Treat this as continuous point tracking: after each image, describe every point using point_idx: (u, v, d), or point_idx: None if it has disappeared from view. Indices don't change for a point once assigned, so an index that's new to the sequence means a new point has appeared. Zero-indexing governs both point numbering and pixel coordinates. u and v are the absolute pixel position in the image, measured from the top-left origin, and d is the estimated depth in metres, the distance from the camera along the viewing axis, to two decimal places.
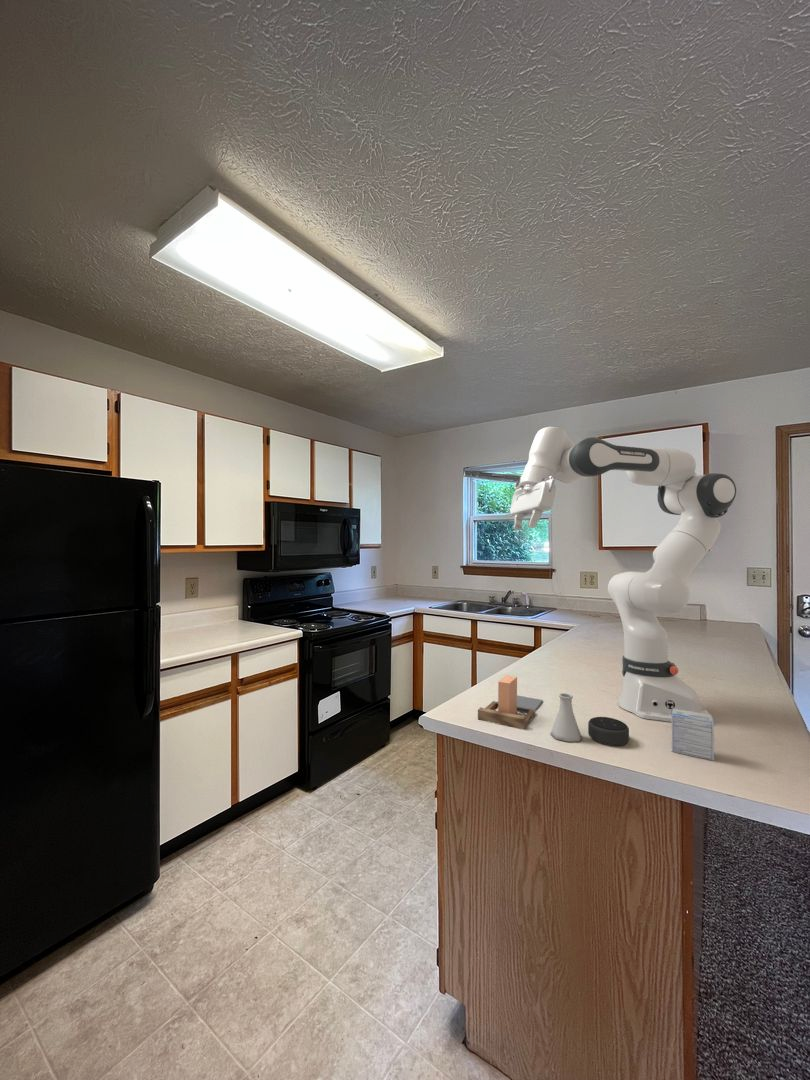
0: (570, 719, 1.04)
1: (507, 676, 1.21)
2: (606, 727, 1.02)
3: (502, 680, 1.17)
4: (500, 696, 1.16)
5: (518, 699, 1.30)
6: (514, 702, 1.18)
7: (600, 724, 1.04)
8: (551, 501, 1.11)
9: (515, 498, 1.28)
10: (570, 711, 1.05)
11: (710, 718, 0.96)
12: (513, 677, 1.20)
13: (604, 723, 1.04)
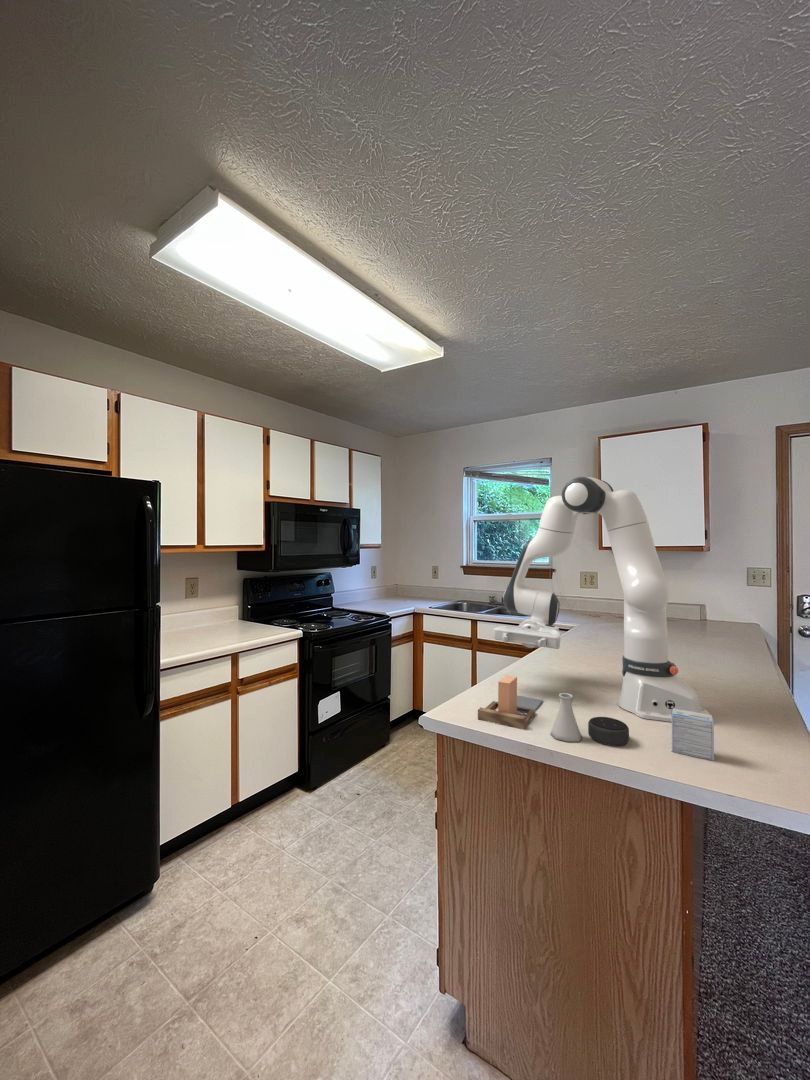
0: (570, 719, 1.04)
1: (507, 676, 1.21)
2: (605, 727, 1.02)
3: (502, 680, 1.17)
4: (500, 696, 1.16)
5: (518, 699, 1.30)
6: (514, 702, 1.18)
7: (600, 724, 1.04)
8: None
9: None
10: (570, 711, 1.05)
11: (710, 718, 0.96)
12: (513, 677, 1.20)
13: (604, 723, 1.04)
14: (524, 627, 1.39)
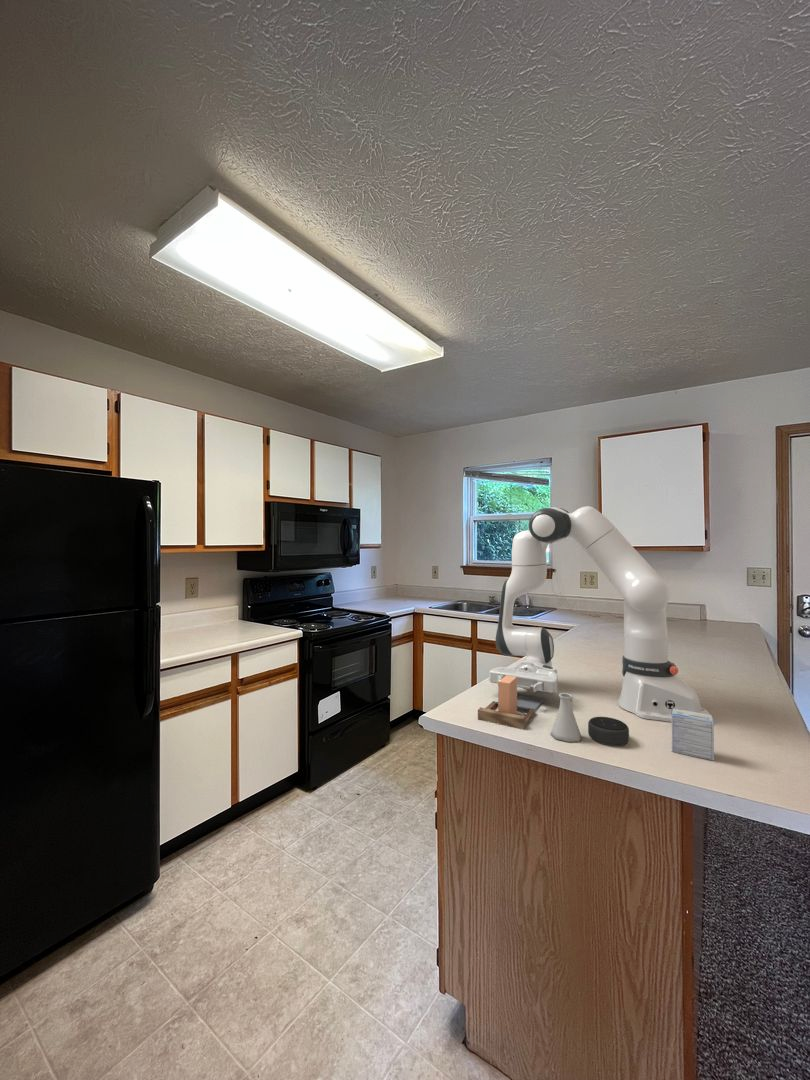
0: (570, 719, 1.04)
1: (507, 676, 1.21)
2: (605, 727, 1.02)
3: (502, 680, 1.17)
4: (500, 696, 1.16)
5: (518, 699, 1.30)
6: (514, 702, 1.18)
7: (599, 724, 1.04)
8: None
9: None
10: (570, 711, 1.05)
11: (710, 718, 0.96)
12: (513, 677, 1.20)
13: (604, 723, 1.04)
14: (521, 669, 1.35)
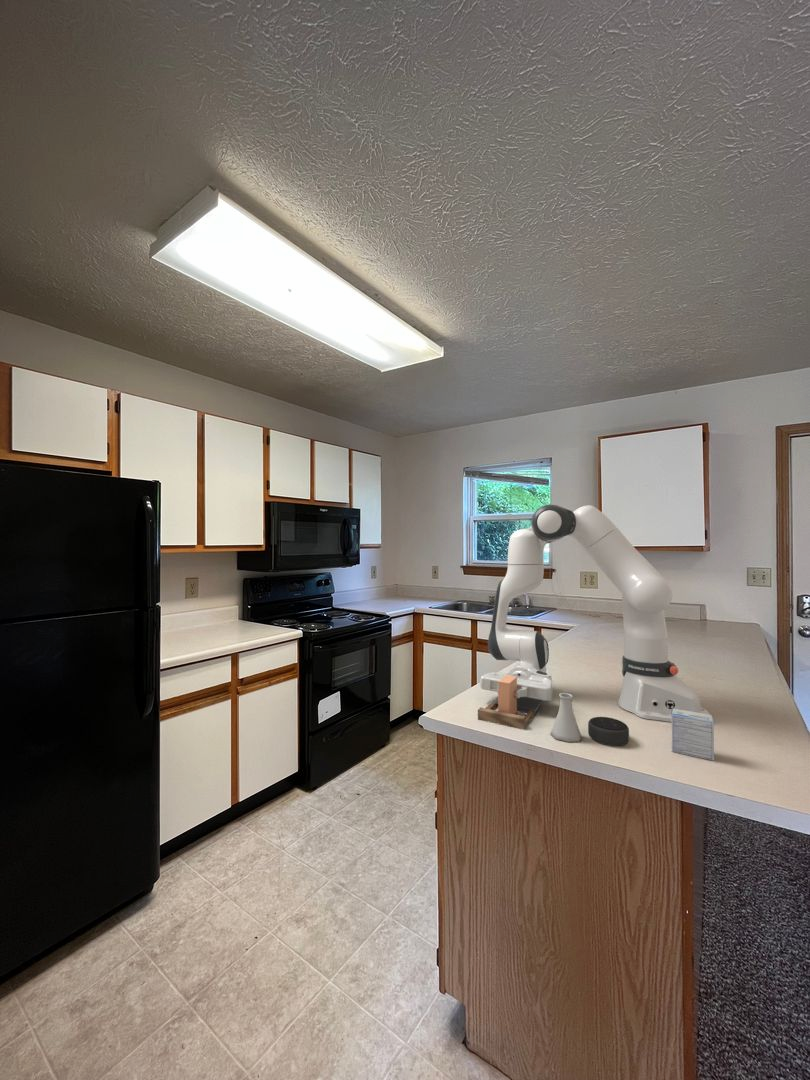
0: (570, 719, 1.04)
1: (507, 676, 1.21)
2: (605, 727, 1.02)
3: (502, 680, 1.17)
4: (500, 696, 1.16)
5: (518, 699, 1.30)
6: (514, 702, 1.18)
7: (599, 724, 1.04)
8: None
9: None
10: (570, 711, 1.05)
11: (710, 718, 0.96)
12: (513, 677, 1.20)
13: (604, 723, 1.04)
14: (514, 674, 1.28)
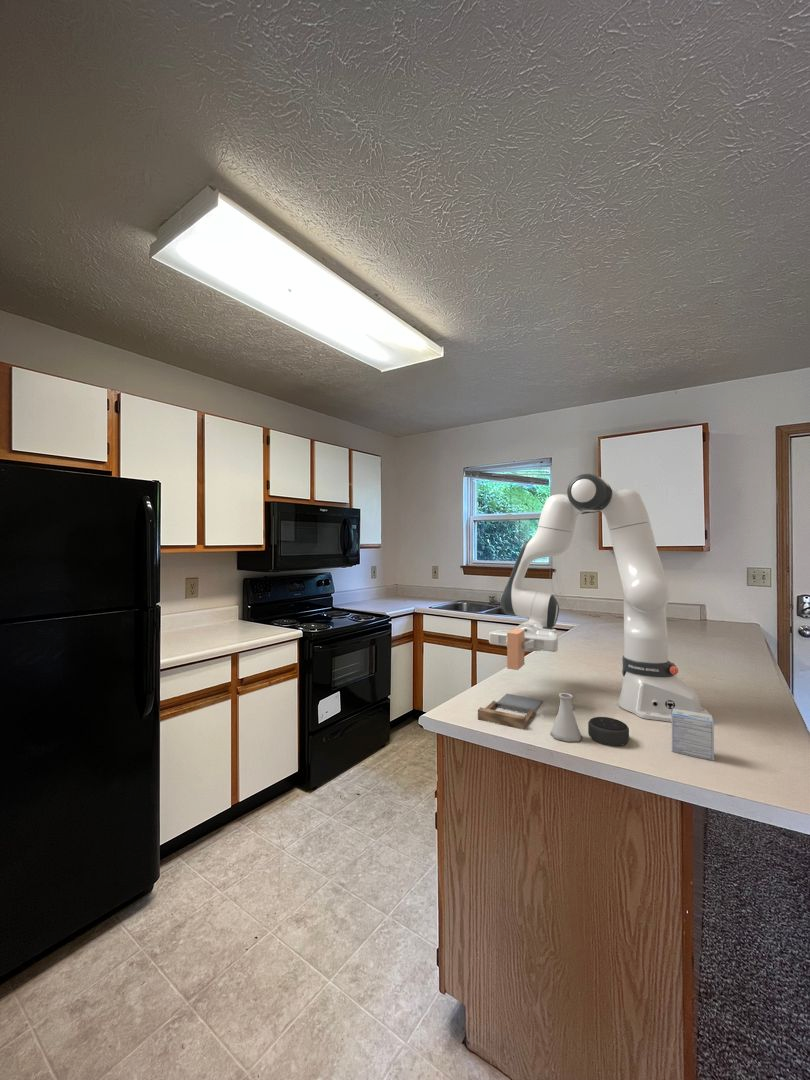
0: (570, 719, 1.04)
1: (515, 629, 1.27)
2: (605, 727, 1.02)
3: (511, 632, 1.23)
4: (509, 646, 1.22)
5: (518, 699, 1.30)
6: (522, 653, 1.24)
7: (599, 724, 1.04)
8: None
9: None
10: (570, 711, 1.05)
11: (710, 718, 0.96)
12: (521, 630, 1.26)
13: (604, 723, 1.04)
14: None
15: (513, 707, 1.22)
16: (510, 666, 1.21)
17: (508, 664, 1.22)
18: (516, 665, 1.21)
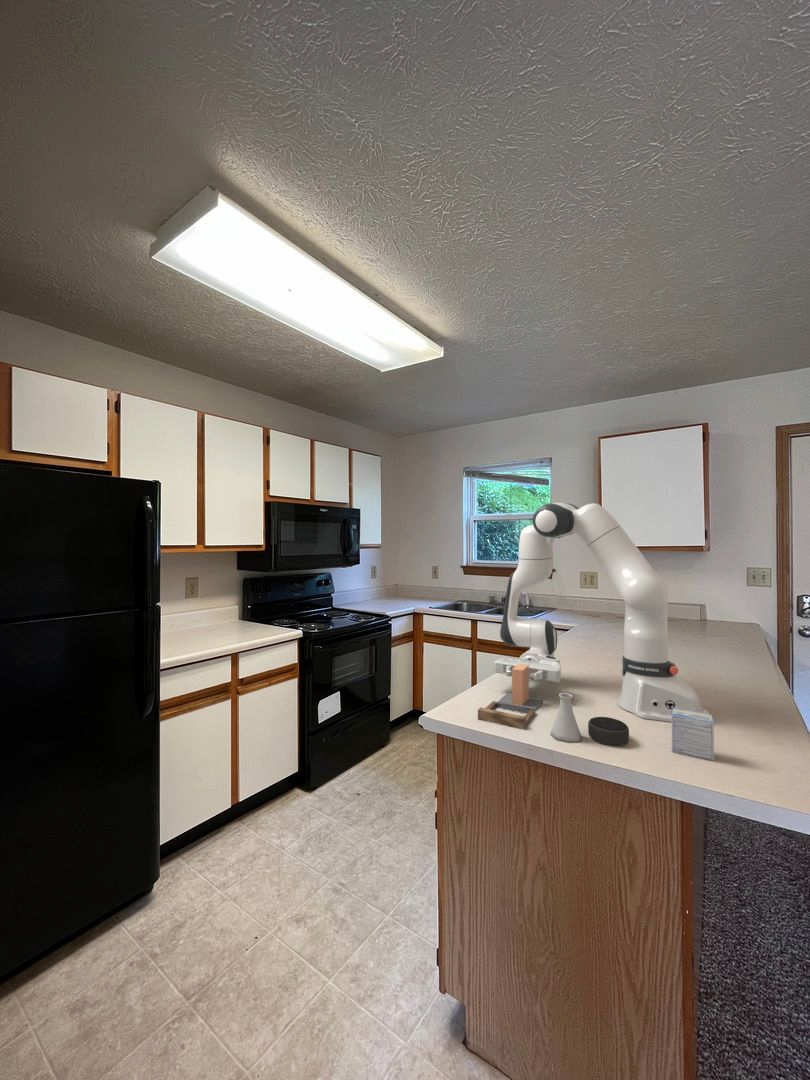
0: (570, 719, 1.04)
1: (519, 664, 1.31)
2: (605, 727, 1.02)
3: (515, 668, 1.28)
4: (514, 682, 1.26)
5: None
6: (526, 688, 1.29)
7: (599, 724, 1.04)
8: None
9: None
10: (570, 711, 1.05)
11: (710, 718, 0.96)
12: (525, 665, 1.30)
13: (604, 723, 1.04)
14: (525, 659, 1.39)
15: (513, 707, 1.22)
16: (514, 701, 1.26)
17: (512, 699, 1.26)
18: (520, 701, 1.25)
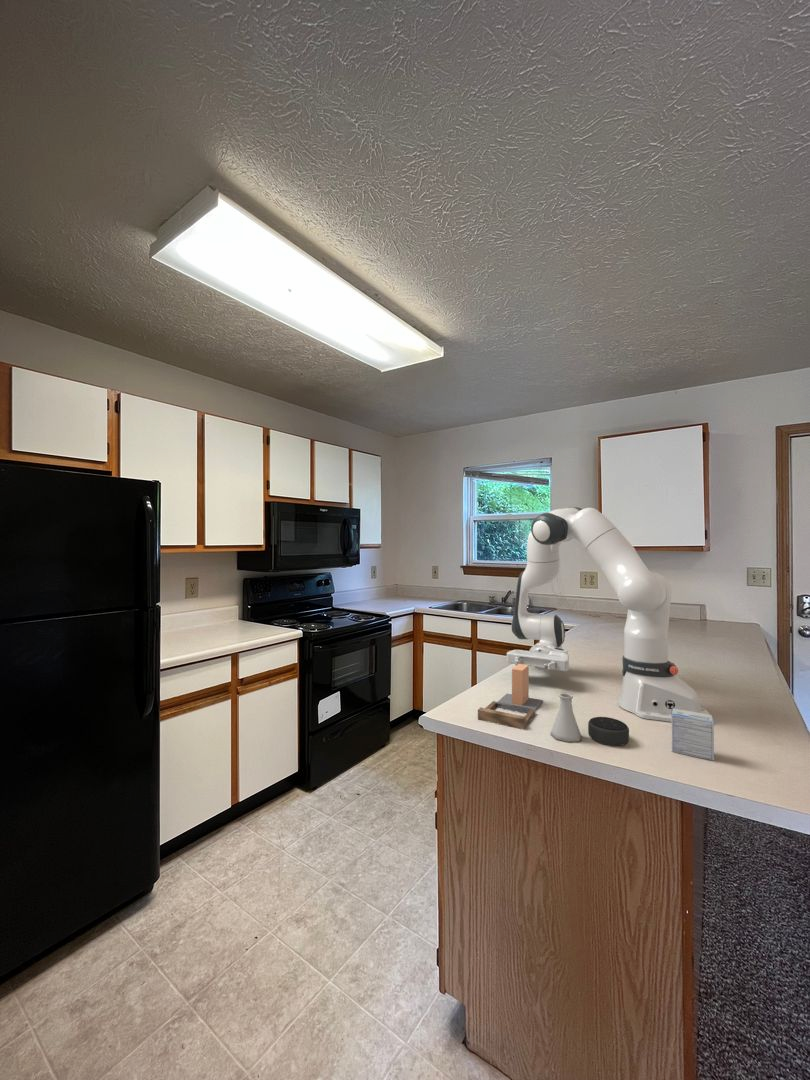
0: (570, 719, 1.04)
1: (519, 664, 1.31)
2: (605, 727, 1.02)
3: (515, 668, 1.28)
4: (514, 682, 1.26)
5: None
6: (526, 688, 1.29)
7: (599, 724, 1.04)
8: None
9: None
10: (570, 711, 1.05)
11: (710, 718, 0.96)
12: (525, 665, 1.30)
13: (604, 723, 1.04)
14: (535, 651, 1.50)
15: (513, 707, 1.22)
16: (514, 701, 1.26)
17: (512, 699, 1.26)
18: (520, 701, 1.25)
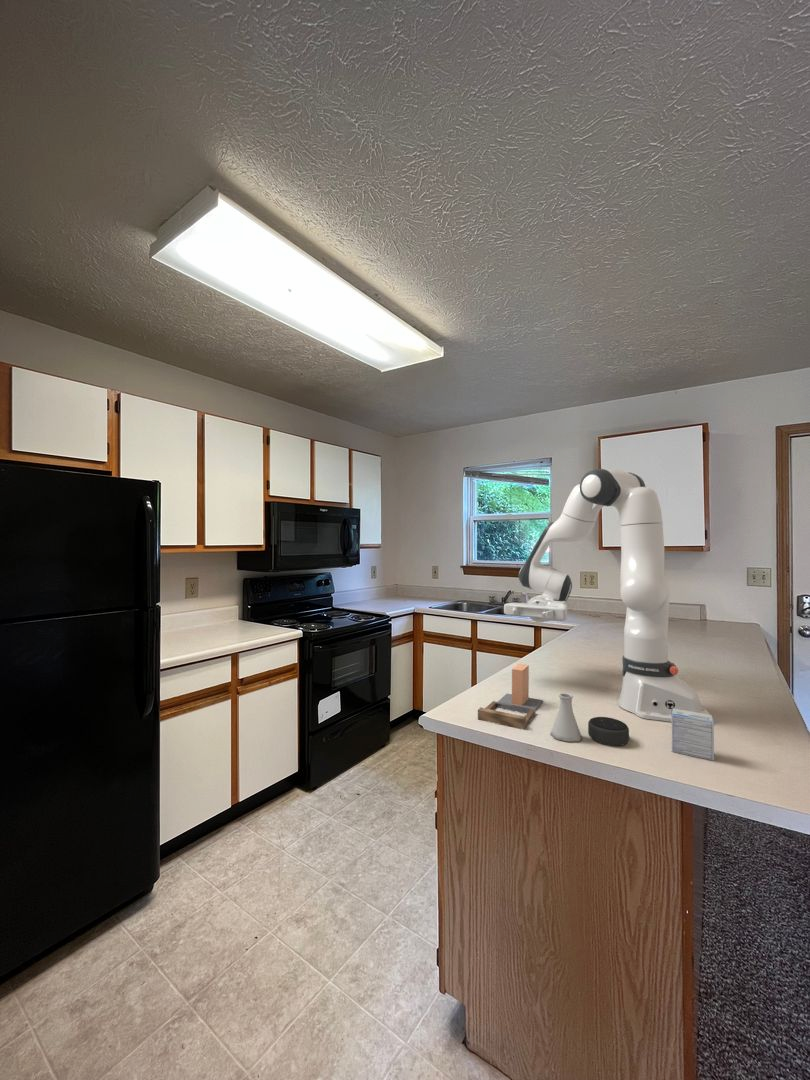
0: (570, 719, 1.04)
1: (519, 664, 1.31)
2: (605, 727, 1.02)
3: (515, 668, 1.28)
4: (514, 682, 1.26)
5: None
6: (526, 688, 1.29)
7: (599, 724, 1.04)
8: None
9: None
10: (570, 711, 1.05)
11: (710, 718, 0.96)
12: (525, 665, 1.30)
13: (604, 723, 1.04)
14: (533, 602, 1.48)
15: (513, 707, 1.22)
16: (514, 701, 1.26)
17: (512, 699, 1.26)
18: (520, 701, 1.25)
